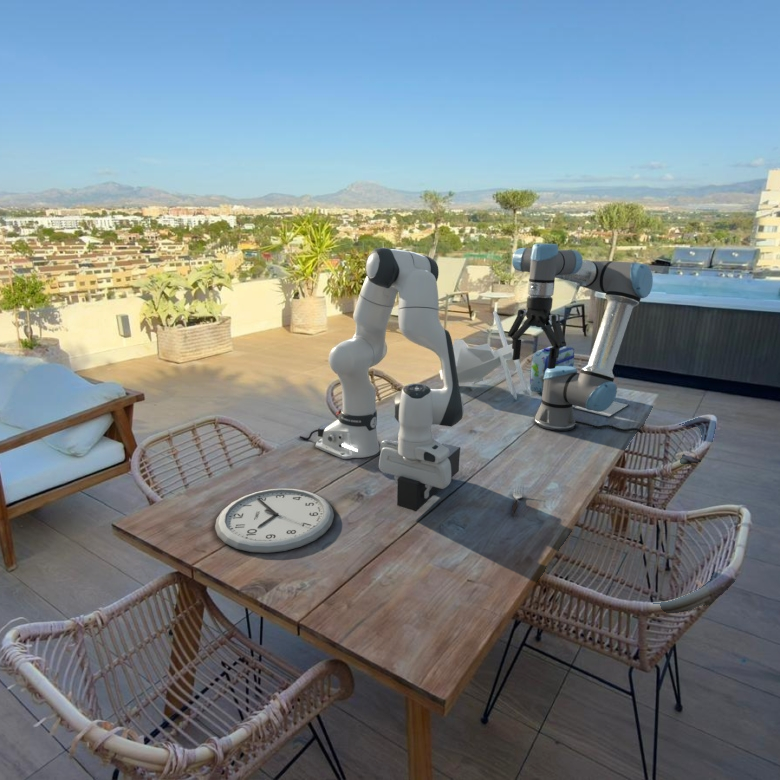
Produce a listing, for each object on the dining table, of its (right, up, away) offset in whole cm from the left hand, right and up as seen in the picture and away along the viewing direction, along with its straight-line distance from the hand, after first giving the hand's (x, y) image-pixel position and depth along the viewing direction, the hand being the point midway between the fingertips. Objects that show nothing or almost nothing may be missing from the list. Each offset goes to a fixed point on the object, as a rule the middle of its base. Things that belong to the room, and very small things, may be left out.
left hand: (413, 493), depth 140 cm
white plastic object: (+35, +27, +103) cm, 112 cm away
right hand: (+39, +36, +25) cm, 59 cm away
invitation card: (+85, +21, +86) cm, 123 cm away
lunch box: (+70, +28, +108) cm, 131 cm away
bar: (+5, 0, +9) cm, 11 cm away
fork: (+29, -4, +5) cm, 29 cm away
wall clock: (-36, -6, -5) cm, 37 cm away
